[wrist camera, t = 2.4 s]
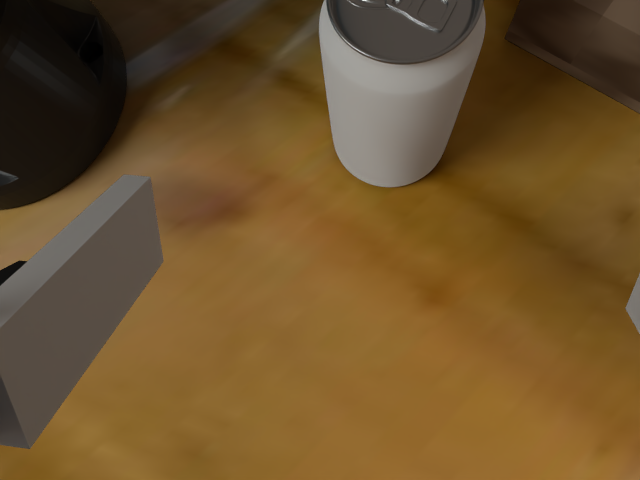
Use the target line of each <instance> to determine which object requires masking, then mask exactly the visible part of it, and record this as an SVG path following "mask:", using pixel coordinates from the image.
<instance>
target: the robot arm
mask: <svg viewBox="0 0 640 480" xmlns="http://www.w3.org/2000/svg"><path fill="white" fill-rule="evenodd" d="M125 94H126V66H125V60H124V56H123V52H122V49H121V46H120V44H119V42H118V39H117V37H116V36H115V34H114V32H113V31H112V29H111V28H110V26H109V25H108V23H107V22H106V21H105V19H104V18H103V17H102V15H101V14H100V13H99V11H98V10H97V9H96V7H95V6H94V5H93V4H92V2H91V1H90V0H0V210H2V209H9V208H14V207H18V206H22V205H25V204H29V203H32V202H34V201H37V200H39V199H42V198H44V197H46V196H48V195H50V194H52V193H54V192H55V191H57V190H59V189H60V188H62V187H63V186H65V185H67V184H68V183H69V182H71V181H72V180H73V179H75V178H76V177H77V176H78V175H79V174H80V173H82V172H83V171H84V170H85V169H86V168H87V167H88V166H89V165H90V164H91V163H92V162H93V160H94V159H95V158H96V157H97V156H98V154H99V153H100V152H101V151H102V149H103V148H104V146H105V145H106V143H107V142H108V140H109V138H110V137H111V135H112V133H113V131H114V129H115V127H116V125H117V122H118V120H119V117H120V114H121V111H122V108H123V104H124V99H125ZM162 263H163V255H162V249H161V242H160V235H159V229H158V222H157V216H156V209H155V203H154V196H153V190H152V183H151V177H145V176H134V175H123V176H122V177H121V178H119V179H118V180H117V181H116V182H115V183H114V184H113V185H112V186H111V187H110V188H108V189H107V190H106V191H105V192H104V193H103V194H102V195H101V196H100V197H98V198H97V199H96V200H95V201H94V202H93V203H92V204H91V205H90V206H88V207H87V208H86V209H85V210H84V211H83V212H82V213H81V214H80V215H78V216H77V217H76V218H75V219H74V220H73V221H72V222H71V223H70V224H68V225H67V226H66V227H65V228H64V229H63V230H62V231H61V232H60V233H58V234H57V235H56V236H55V237H54V238H53V239H52V240H51V241H50V242H48V243H47V244H46V245H45V246H44V247H43V248H42V249H41V250H40V251H38V252H37V253H36V254H35V255H34V256H33V257H32V258H31V259H30V260H29V261H18V262H16V263H14V264H12V265H10V266H8V267H6V268H4V269H2V270H0V445H6V446H13V447H20V448H27V449H30V448H31V447H32V445H33V444H34V443H35V441H36V440H37V438H38V437H39V435H40V434H41V433H42V431H43V430H44V428H45V427H46V426H47V424H48V423H49V421H50V420H51V419H52V417H53V416H54V414H55V413H56V412H57V410H58V409H59V407H60V406H61V405H62V403H63V402H64V400H65V399H66V398H67V396H68V395H69V393H70V392H71V391H72V389H73V388H74V386H75V385H76V384H77V382H78V381H79V379H80V378H81V377H82V375H83V374H84V372H85V371H86V370H87V368H88V367H89V365H90V364H91V363H92V361H93V360H94V358H95V357H96V355H97V354H98V353H99V351H100V350H101V348H102V347H103V346H104V344H105V343H106V341H107V340H108V339H109V337H110V336H111V334H112V333H113V332H114V330H115V329H116V327H117V326H118V325H119V323H120V322H121V320H122V319H123V318H124V316H125V315H126V313H127V312H128V311H129V309H130V308H131V306H132V305H133V304H134V302H135V301H136V299H137V298H138V297H139V295H140V294H141V292H142V291H143V290H144V288H145V287H146V285H147V284H148V283H149V281H150V280H151V278H152V277H153V276H154V274H155V273H156V271H157V270H158V268H159V267H160V266H161V264H162ZM625 309H626V310H627V312H628V314H629V316H630V318H631V319H632V321H633V323H634V325H635V326H636V328H637V330H638V332H639V334H640V274H639V276H638V279H637V281H636V284H635V286H634V289H633V291H632V294H631V296H630V298H629V301H628V303H627V306H626V308H625Z"/></svg>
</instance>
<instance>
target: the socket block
mask: <svg viewBox="0 0 640 480" xmlns="http://www.w3.org/2000/svg"><path fill="white" fill-rule="evenodd" d="M504 39H506V40H508V41H510V42H512V43H513V44H515V45H517V46H519V47H521V48H522V49H524V50H526V51H528V52H530V53H532V54H533V55H535V56H537V57H539V58H541V59H542V60H544V61H546V62H548V63H550V64H551V65H553V66H555V67H557V68H559V69H560V70H562V71H564V72H566V73H568V74H569V75H571V76H573V77H575V78H577V79H578V80H580V81H582V82H584V83H586V84H588V85H589V86H591V87H593V88H595V89H597V90H598V91H600V92H602V93H604V94H606V95H607V96H609V97H611V98H613V99H615V100H616V101H618V102H620V103H622V104H624V105H625V106H627V107H629V108H631V109H633V110H634V111H636V112H638V113H640V0H520V2H519V5H518V7H517V10H516V12H515V14H514V17H513V19H512V22H511V24H510V26H509V29H508V31H507V34H506V36H505V38H504Z"/></svg>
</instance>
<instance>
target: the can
mask: <svg viewBox="0 0 640 480" xmlns="http://www.w3.org/2000/svg"><path fill="white" fill-rule="evenodd" d="M483 2H484V0H324V2H323V5H322V8H321V12H320V18H319V38H320V48H321V56H322V64H323V72H324V79H325V87H326V94H327V102H328V109H329V116H330V123H331V130H332V136H333V142H334V146H335V150H336V153H337V155H338V157H339V159H340V161H341V162H342V164H343V165H344V166H345V168H346V169H347V170H348V171H349V172H350V173H351V174H353V175H354V176H355V177H357V178H358V179H360V180H362V181H364V182H366V183H369V184H372V185H376V186H381V187H398V186H404V185H407V184H411V183H413V182H415V181H417V180H419V179H421V178H423V177H424V176H426V175H427V174H428V173H429V172H430V171H431V170H432V169H433V168H434V167H435V166H436V165H437V163H438V162H439V160H440V159H441V157H442V155H443V153H444V150H445V148H446V145H447V143H448V140H449V137H450V135H451V132H452V129H453V127H454V124H455V121H456V118H457V116H458V113H459V110H460V107H461V104H462V102H463V99H464V96H465V93H466V91H467V88H468V85H469V82H470V79H471V76H472V74H473V71H474V68H475V65H476V62H477V59H478V56H479V53H480V50H481V47H482V43H483V39H484V33H485V25H486V19H485V10H484V5H483Z"/></svg>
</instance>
